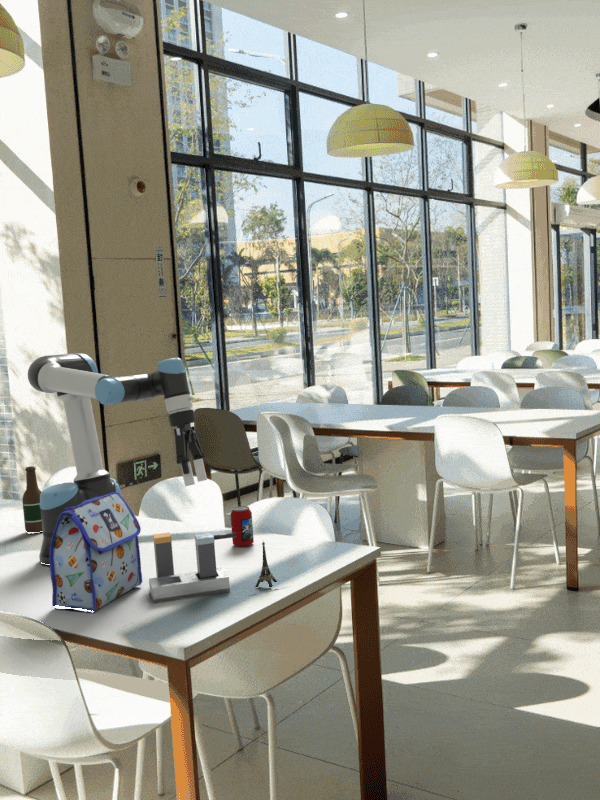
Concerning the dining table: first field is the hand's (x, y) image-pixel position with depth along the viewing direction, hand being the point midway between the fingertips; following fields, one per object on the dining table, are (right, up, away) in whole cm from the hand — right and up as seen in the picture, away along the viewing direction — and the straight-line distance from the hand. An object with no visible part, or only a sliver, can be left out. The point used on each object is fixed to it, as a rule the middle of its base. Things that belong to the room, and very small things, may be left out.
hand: (196, 483), depth 238 cm
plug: (-7, -27, -10) cm, 30 cm away
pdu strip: (+2, -27, -19) cm, 33 cm away
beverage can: (+12, -22, +25) cm, 36 cm away
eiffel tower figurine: (+21, -26, -18) cm, 38 cm away
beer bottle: (-66, -24, +62) cm, 94 cm away
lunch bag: (-23, -29, -19) cm, 42 cm away
